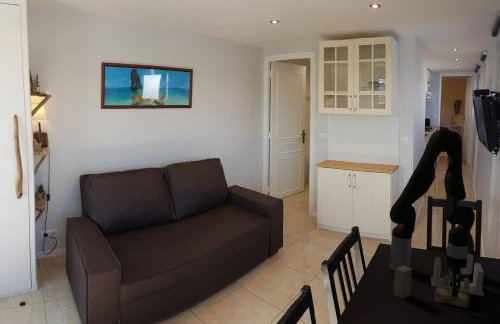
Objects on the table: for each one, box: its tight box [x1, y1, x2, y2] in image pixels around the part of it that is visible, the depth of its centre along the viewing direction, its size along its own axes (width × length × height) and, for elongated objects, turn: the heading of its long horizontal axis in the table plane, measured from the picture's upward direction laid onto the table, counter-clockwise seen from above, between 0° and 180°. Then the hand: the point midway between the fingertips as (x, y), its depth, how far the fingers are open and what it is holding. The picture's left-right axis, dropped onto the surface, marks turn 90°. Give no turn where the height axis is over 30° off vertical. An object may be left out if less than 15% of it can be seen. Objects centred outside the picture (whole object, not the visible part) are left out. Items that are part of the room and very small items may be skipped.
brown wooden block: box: [434, 287, 470, 309], centre depth 149 cm, size 12×5×4 cm, turn 64°
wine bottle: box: [461, 232, 475, 278], centre depth 172 cm, size 8×8×30 cm
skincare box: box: [393, 265, 413, 299], centre depth 154 cm, size 6×4×12 cm
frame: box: [430, 256, 485, 297], centre depth 161 cm, size 20×9×11 cm, turn 65°
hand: (453, 291), depth 148 cm, fingers open, 8 cm apart
